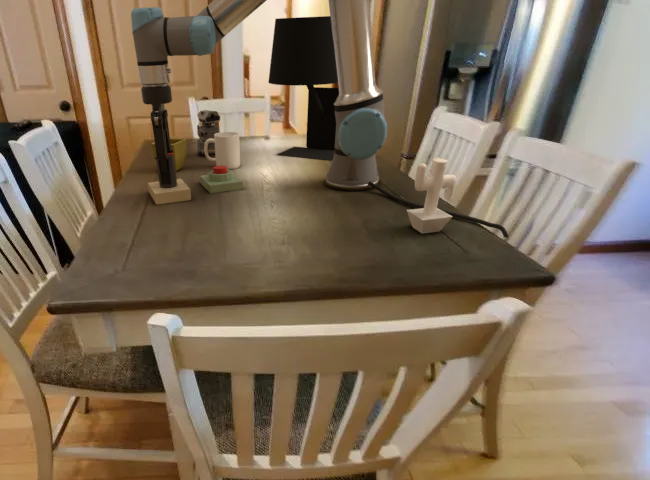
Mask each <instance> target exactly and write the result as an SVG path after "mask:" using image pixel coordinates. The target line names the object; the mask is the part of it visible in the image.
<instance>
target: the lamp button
mask: <svg viewBox="0 0 650 480" xmlns="http://www.w3.org/2000/svg"><path fill="white" fill-rule="evenodd" d="M212 169H213V172H214V174H225V173H227V170H228V169H227V167H226V166H222V165H220V166H216V165H215V166H213V167H212Z"/></svg>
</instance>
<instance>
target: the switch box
mask: <svg viewBox="0 0 650 480" xmlns="http://www.w3.org/2000/svg"><path fill="white" fill-rule="evenodd" d="M199 182H200V185H202V187H204V188H205V190H206V191H208V193H210V194H217V193H222V192H223V193H224V192H230V191H231V192H232V191H238V190H243V188H244V185H243V184H244V182H243V180H242V179H240V178H239V177H238V176H236V175H235V174H234V173H233V171H232V169H227V173H225V174H214V172H213V170H209V171H208V173H207V174H203V175H199Z"/></svg>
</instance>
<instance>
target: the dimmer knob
mask: <svg viewBox="0 0 650 480" xmlns="http://www.w3.org/2000/svg"><path fill="white" fill-rule="evenodd" d="M167 156H168V158H169V166H170V174H171V182H172V184H166V185H162V183H161V176H160V168H159V161H158V160H155V163H156V170H157V177H158V181H159V185H160V187H162V188H172V187H175V186H177V179H178V178H177V171H176V170H175V162H174V154H173V153H167ZM155 157H156V156H154V158H155Z"/></svg>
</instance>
